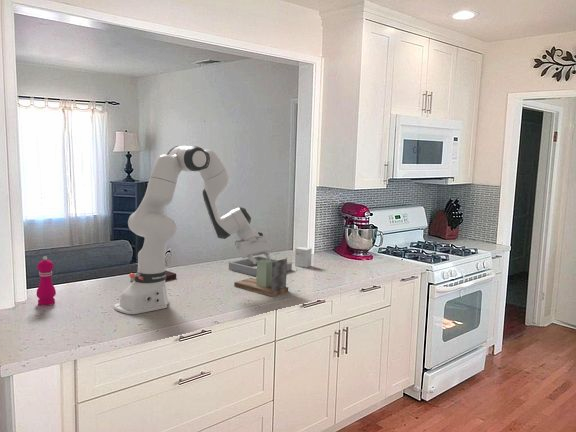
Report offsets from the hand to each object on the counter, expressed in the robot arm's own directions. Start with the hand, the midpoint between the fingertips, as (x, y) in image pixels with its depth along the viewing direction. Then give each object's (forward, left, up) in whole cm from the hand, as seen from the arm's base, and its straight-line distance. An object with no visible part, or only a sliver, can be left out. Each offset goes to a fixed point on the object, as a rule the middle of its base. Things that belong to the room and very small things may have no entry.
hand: (262, 261), depth 238 cm
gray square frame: (+28, +26, -13) cm, 41 cm away
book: (-26, +49, -14) cm, 57 cm away
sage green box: (0, -1, -11) cm, 12 cm away
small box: (+53, +15, -14) cm, 57 cm away
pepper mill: (-80, +49, -14) cm, 95 cm away
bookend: (0, +1, -13) cm, 13 cm away
